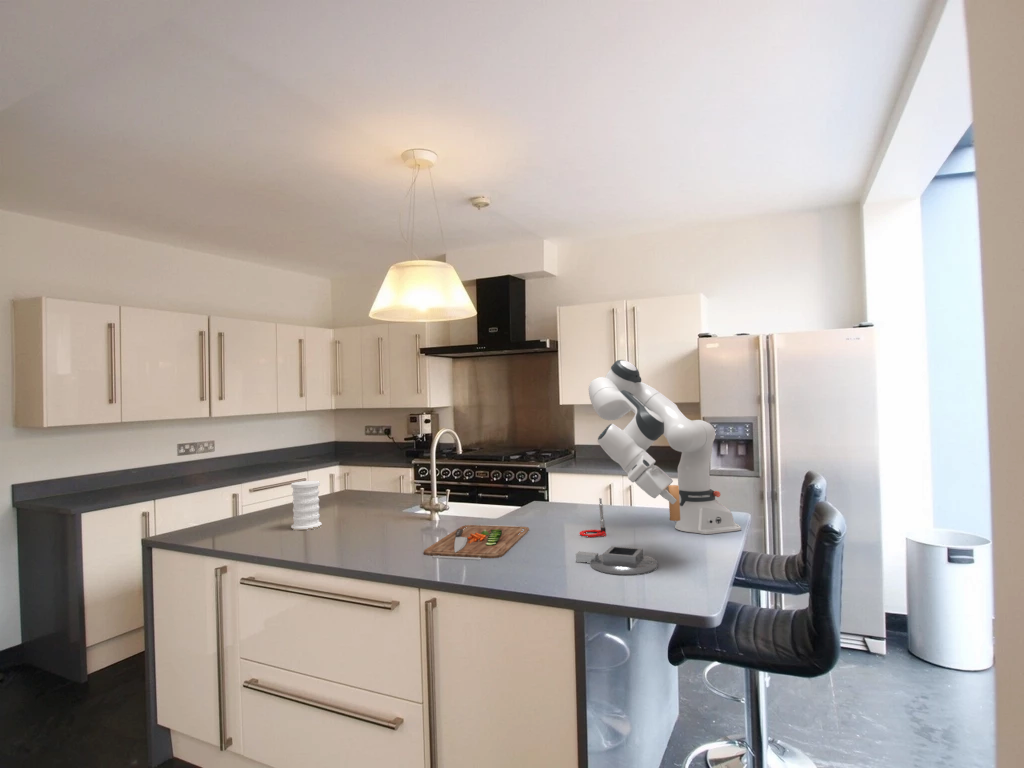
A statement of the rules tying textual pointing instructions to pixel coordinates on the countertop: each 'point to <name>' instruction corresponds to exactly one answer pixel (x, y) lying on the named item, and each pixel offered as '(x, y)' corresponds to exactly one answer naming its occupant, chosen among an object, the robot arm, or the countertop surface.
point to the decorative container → (305, 504)
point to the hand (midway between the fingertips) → (676, 501)
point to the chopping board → (477, 542)
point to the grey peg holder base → (619, 561)
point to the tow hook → (602, 523)
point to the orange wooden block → (675, 507)
